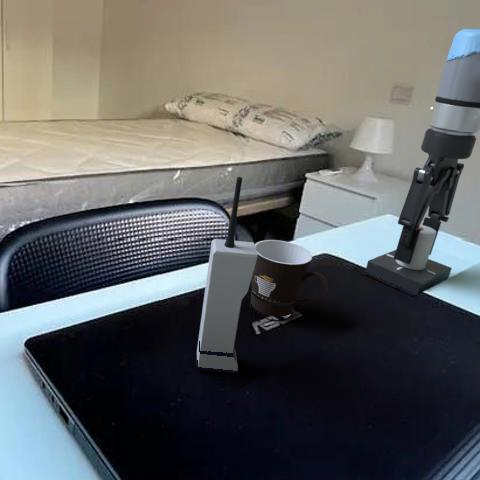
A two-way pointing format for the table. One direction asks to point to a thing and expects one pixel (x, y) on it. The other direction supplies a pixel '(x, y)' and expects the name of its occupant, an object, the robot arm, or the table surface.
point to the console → (408, 273)
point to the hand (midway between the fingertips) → (412, 256)
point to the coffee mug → (281, 276)
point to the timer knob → (421, 249)
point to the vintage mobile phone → (225, 294)
